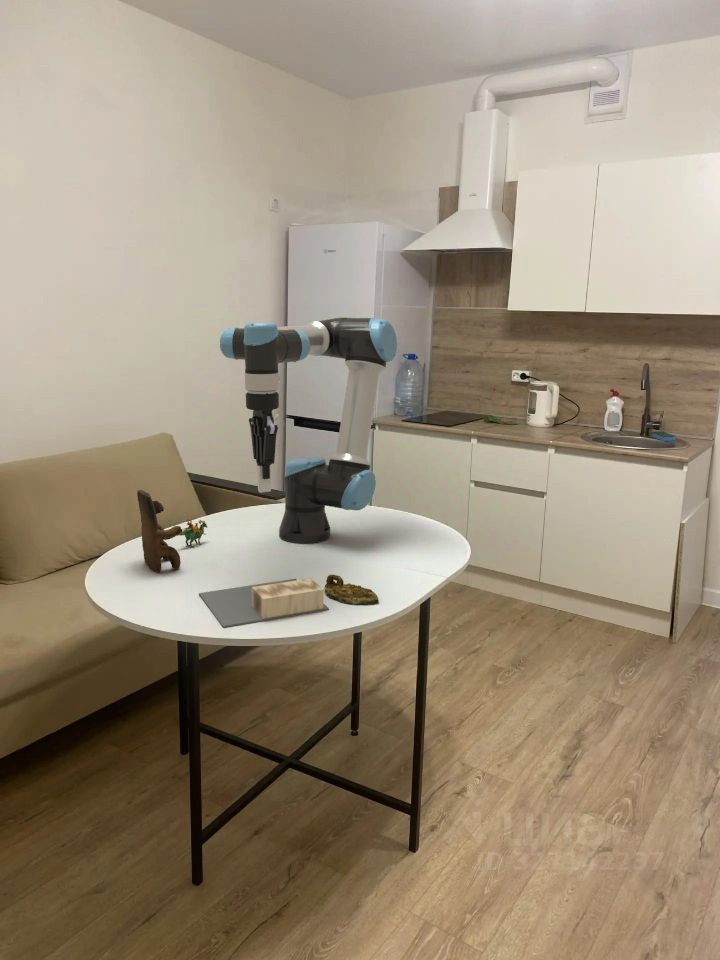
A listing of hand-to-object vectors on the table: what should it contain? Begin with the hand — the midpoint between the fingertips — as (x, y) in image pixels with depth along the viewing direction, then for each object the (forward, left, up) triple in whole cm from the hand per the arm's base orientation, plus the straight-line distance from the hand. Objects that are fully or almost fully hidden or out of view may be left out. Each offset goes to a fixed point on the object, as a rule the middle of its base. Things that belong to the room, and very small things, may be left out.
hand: (264, 491), depth 172 cm
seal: (-15, +16, -24) cm, 32 cm away
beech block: (+8, +17, -20) cm, 28 cm away
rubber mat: (+5, +11, -23) cm, 26 cm away
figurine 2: (+10, -35, -23) cm, 43 cm away
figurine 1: (+21, -22, -23) cm, 38 cm away
